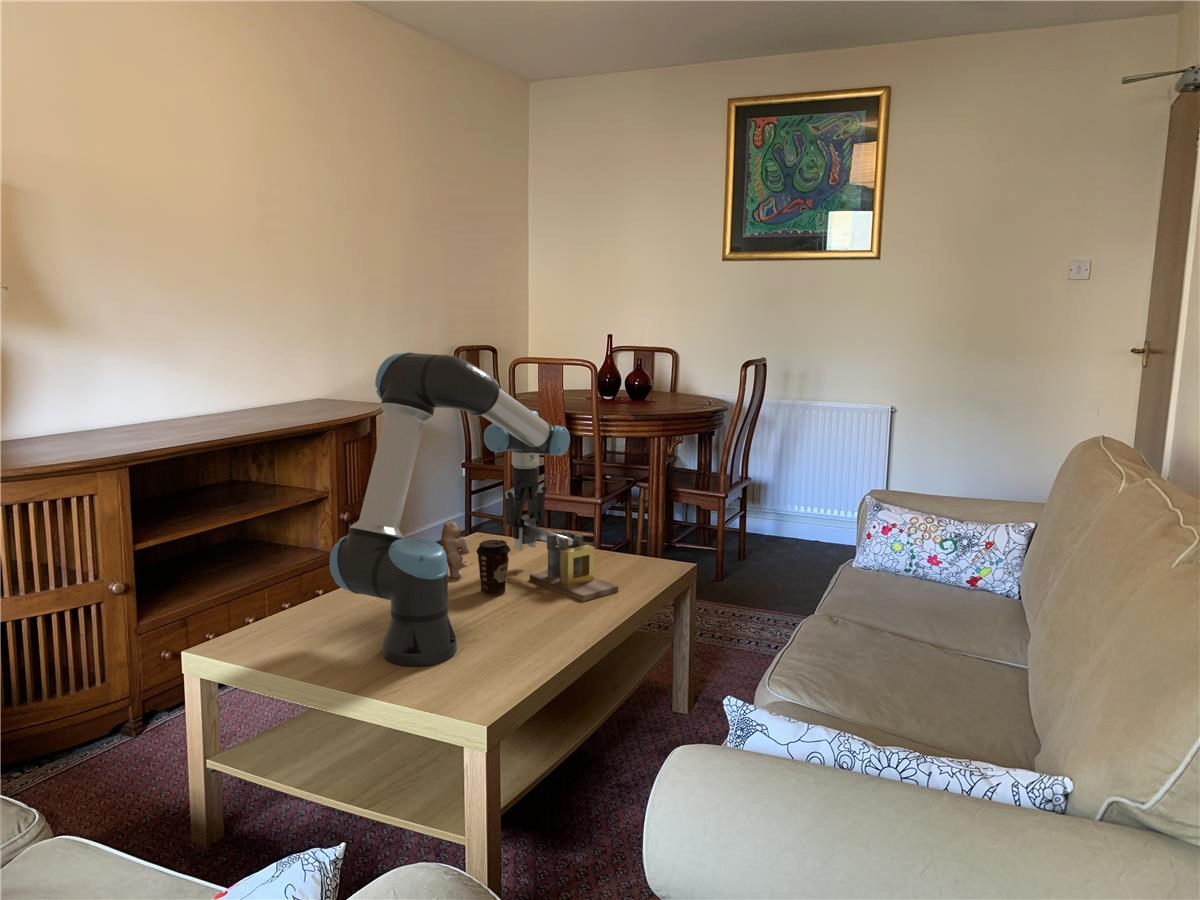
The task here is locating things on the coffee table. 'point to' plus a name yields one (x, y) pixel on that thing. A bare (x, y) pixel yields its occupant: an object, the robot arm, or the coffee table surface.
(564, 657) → the coffee table surface
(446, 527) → the figurine
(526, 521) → the shaft
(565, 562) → the block
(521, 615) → the coffee table surface
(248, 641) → the coffee table surface
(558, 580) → the bearing block
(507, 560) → the coffee cup
